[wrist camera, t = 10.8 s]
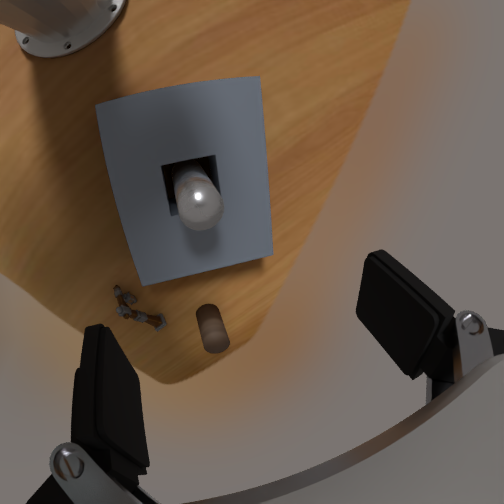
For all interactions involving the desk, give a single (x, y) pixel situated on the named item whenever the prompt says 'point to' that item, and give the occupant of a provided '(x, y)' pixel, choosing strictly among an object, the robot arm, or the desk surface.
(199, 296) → the desk surface
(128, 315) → the wooden post with brackets
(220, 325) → the short pin
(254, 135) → the hole block
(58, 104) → the desk surface
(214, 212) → the long pin
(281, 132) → the desk surface
